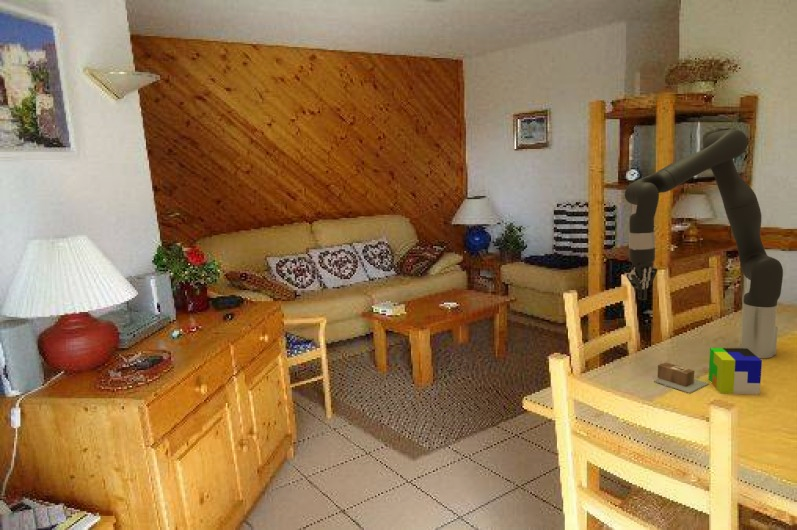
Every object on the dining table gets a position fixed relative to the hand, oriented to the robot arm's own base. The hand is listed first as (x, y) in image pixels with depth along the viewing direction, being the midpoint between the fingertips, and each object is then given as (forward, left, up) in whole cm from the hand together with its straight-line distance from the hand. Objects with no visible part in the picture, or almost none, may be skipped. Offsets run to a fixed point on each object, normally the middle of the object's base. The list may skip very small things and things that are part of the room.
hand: (642, 299), depth 178 cm
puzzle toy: (-14, +24, -22) cm, 35 cm away
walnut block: (+1, +11, -19) cm, 22 cm away
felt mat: (-2, +17, -22) cm, 28 cm away
